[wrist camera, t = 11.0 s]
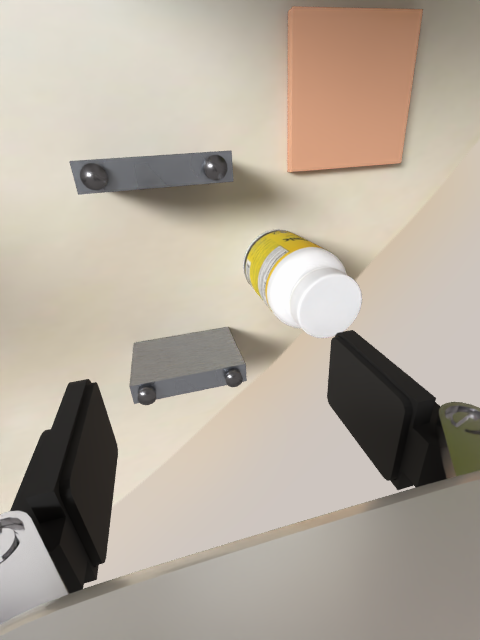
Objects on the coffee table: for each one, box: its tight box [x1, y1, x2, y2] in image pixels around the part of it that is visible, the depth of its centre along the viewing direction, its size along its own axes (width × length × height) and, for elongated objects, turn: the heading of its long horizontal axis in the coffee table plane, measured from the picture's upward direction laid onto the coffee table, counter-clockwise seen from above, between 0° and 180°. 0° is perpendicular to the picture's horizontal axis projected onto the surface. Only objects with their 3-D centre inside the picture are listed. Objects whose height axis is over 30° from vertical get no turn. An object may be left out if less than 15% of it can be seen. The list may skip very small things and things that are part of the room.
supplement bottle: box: [243, 230, 362, 338], centre depth 23 cm, size 5×5×10 cm
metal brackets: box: [69, 151, 247, 405], centre depth 22 cm, size 15×8×7 cm, turn 4°
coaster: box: [288, 6, 423, 172], centre depth 23 cm, size 9×9×1 cm
